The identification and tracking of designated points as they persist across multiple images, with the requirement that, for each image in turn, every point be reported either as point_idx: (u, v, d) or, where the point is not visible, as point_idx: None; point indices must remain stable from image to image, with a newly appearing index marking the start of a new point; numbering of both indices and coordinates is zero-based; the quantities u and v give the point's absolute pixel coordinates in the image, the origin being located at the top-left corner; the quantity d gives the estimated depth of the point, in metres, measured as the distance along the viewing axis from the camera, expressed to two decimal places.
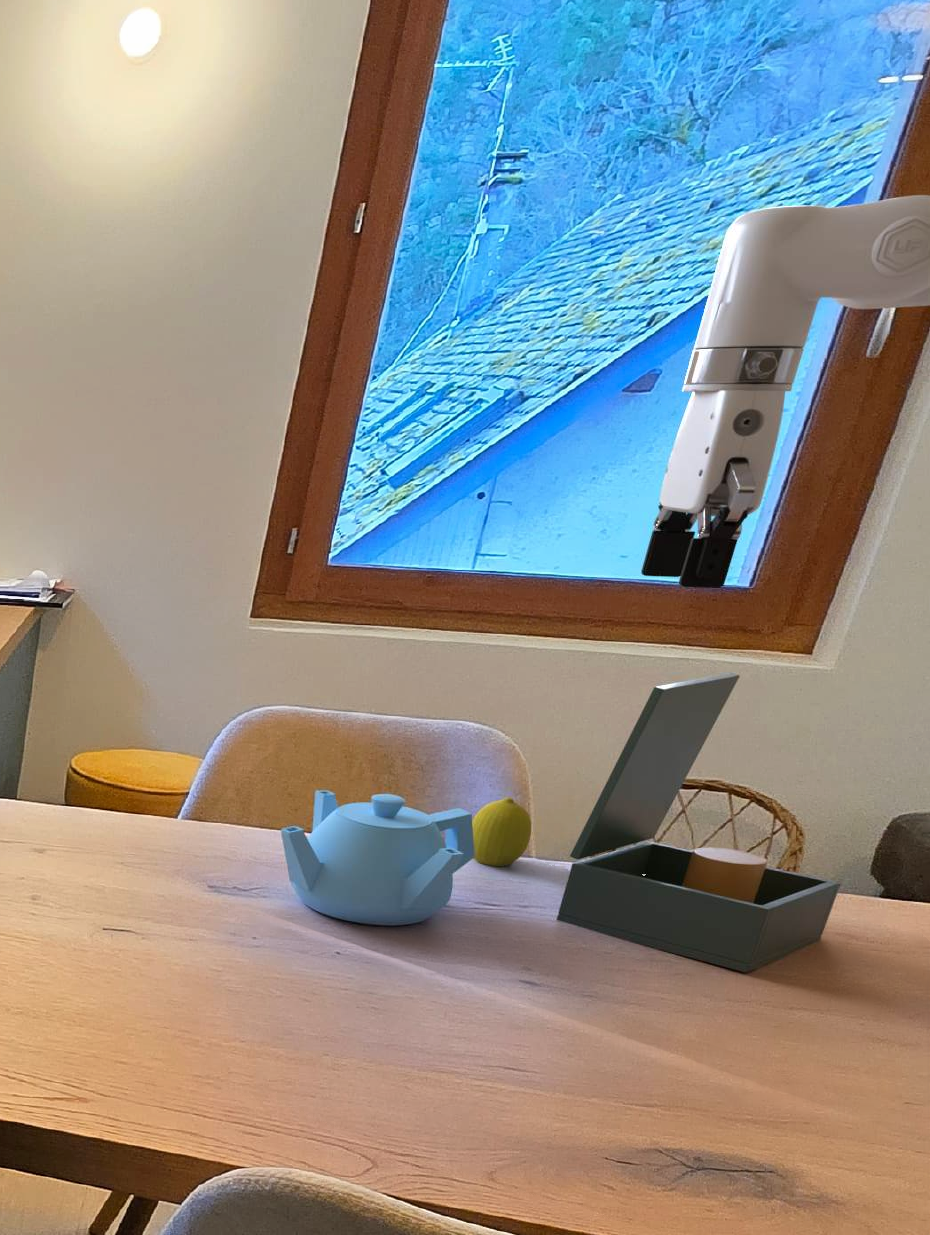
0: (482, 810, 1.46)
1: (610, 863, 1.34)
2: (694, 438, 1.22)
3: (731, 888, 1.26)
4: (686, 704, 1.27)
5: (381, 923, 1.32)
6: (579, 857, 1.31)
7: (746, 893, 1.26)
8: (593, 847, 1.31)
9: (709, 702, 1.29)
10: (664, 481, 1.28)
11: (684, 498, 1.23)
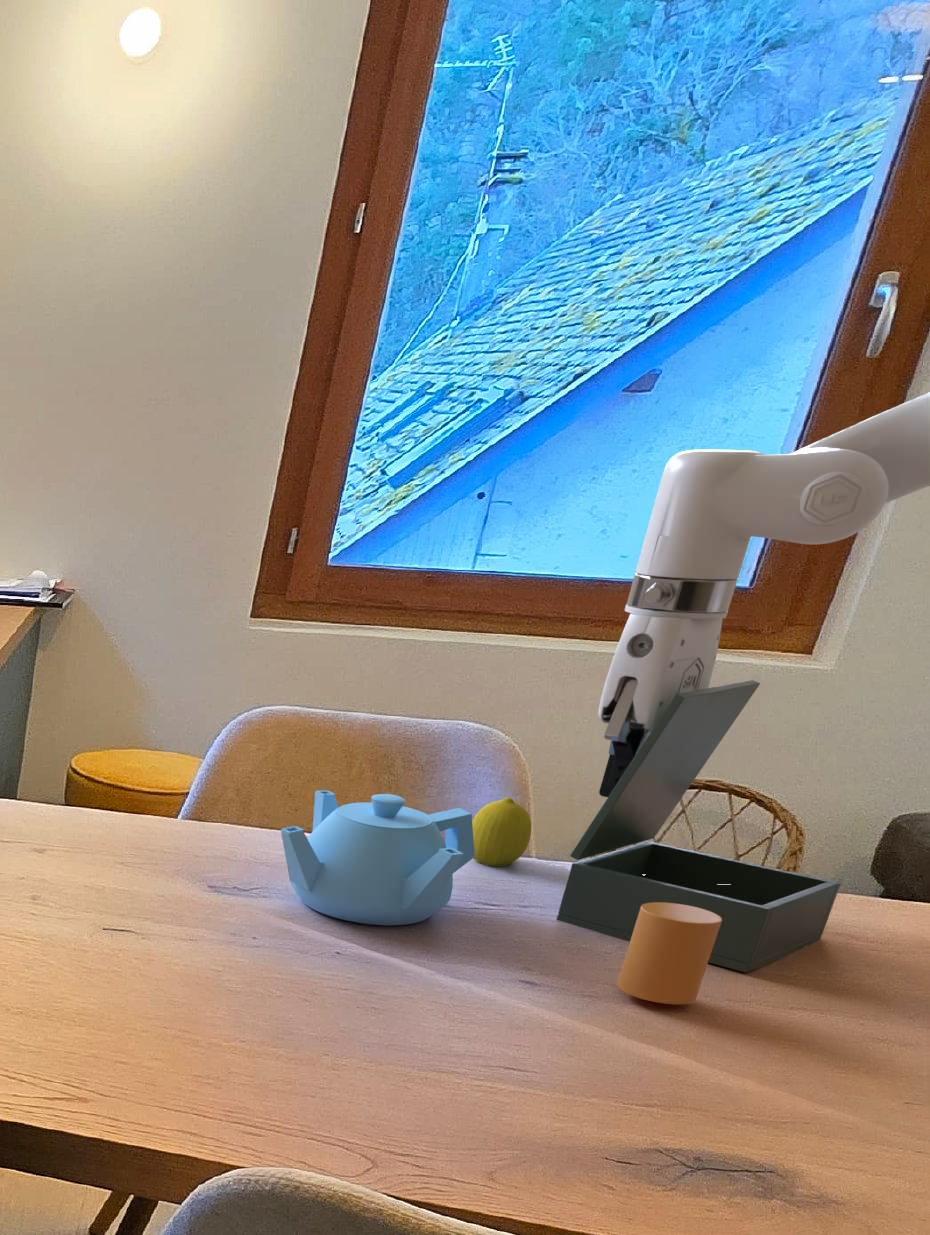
0: (482, 810, 1.46)
1: (610, 863, 1.34)
2: None
3: (682, 949, 1.13)
4: (704, 711, 1.26)
5: (381, 923, 1.32)
6: (579, 858, 1.31)
7: (698, 955, 1.13)
8: (594, 848, 1.31)
9: (727, 709, 1.28)
10: None
11: None
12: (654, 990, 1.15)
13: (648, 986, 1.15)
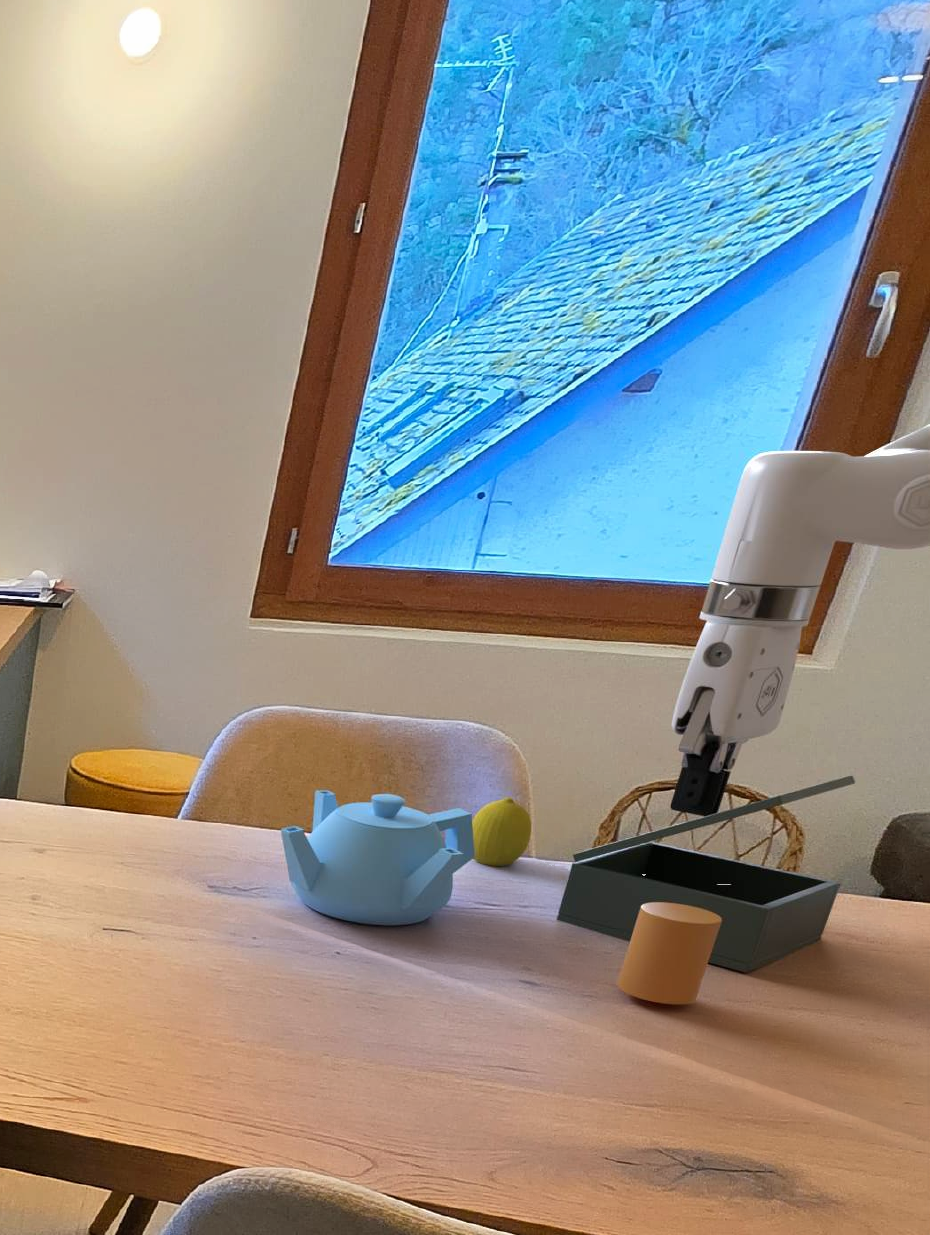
0: (482, 810, 1.46)
1: (610, 863, 1.34)
2: None
3: (682, 949, 1.13)
4: None
5: (381, 923, 1.32)
6: None
7: (698, 955, 1.13)
8: None
9: None
10: None
11: None
12: (654, 990, 1.15)
13: (648, 986, 1.15)
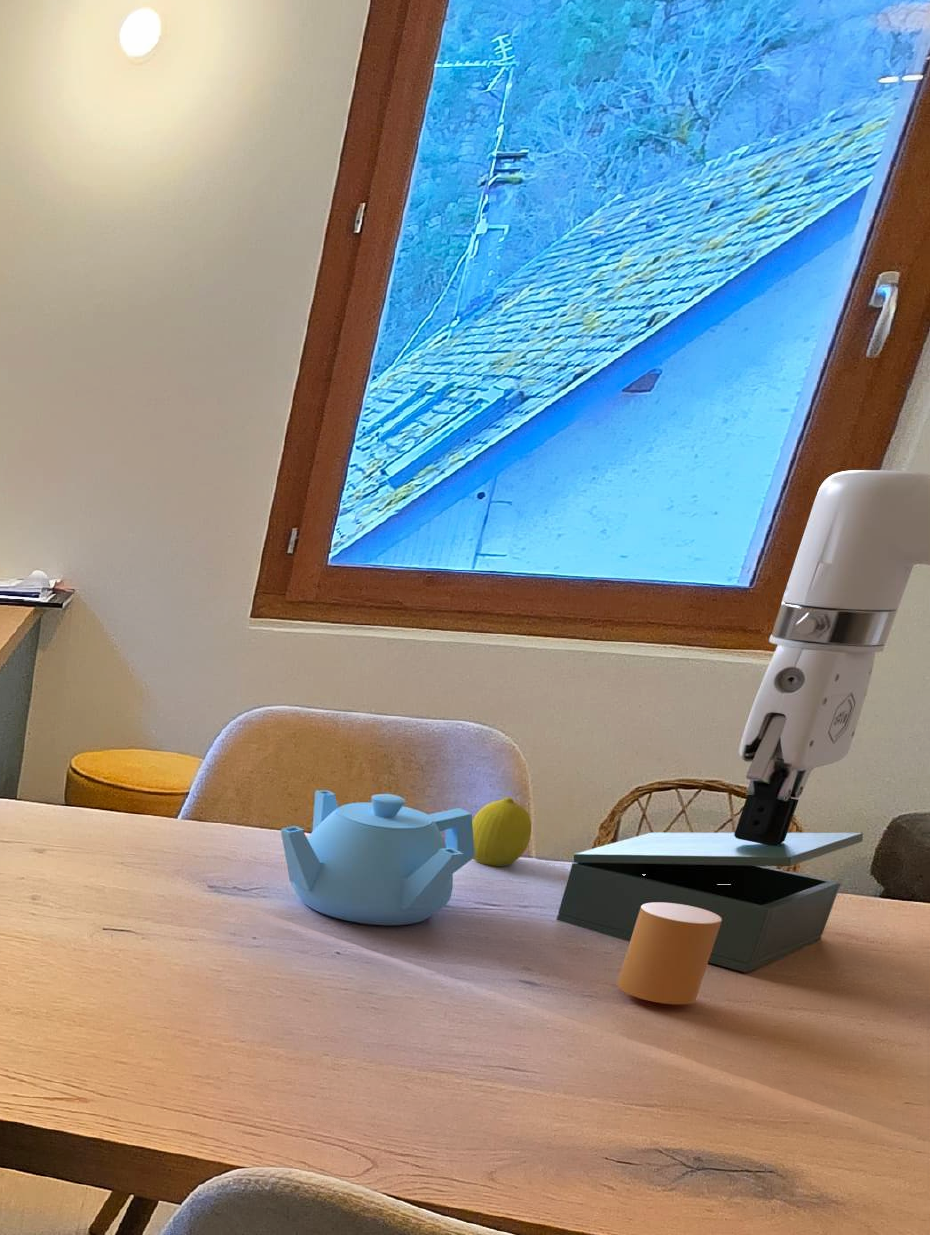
0: (482, 810, 1.46)
1: (610, 863, 1.34)
2: None
3: (682, 949, 1.13)
4: None
5: (381, 923, 1.32)
6: None
7: (698, 955, 1.13)
8: None
9: None
10: None
11: None
12: (654, 990, 1.15)
13: (648, 986, 1.15)
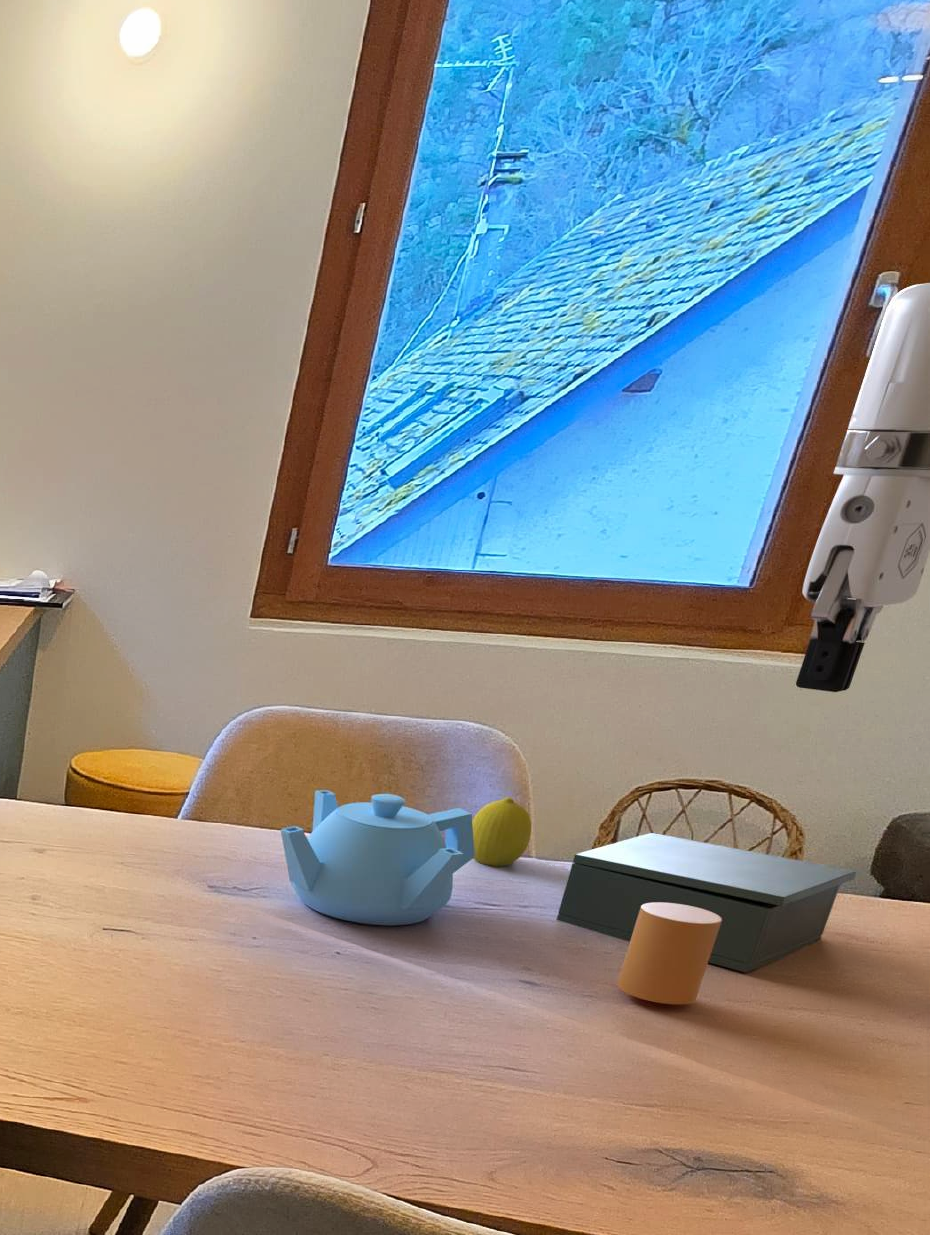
0: (482, 810, 1.46)
1: None
2: None
3: (682, 949, 1.13)
4: None
5: (381, 923, 1.32)
6: (575, 862, 1.31)
7: (698, 955, 1.13)
8: None
9: None
10: None
11: None
12: (654, 990, 1.15)
13: (648, 986, 1.15)
